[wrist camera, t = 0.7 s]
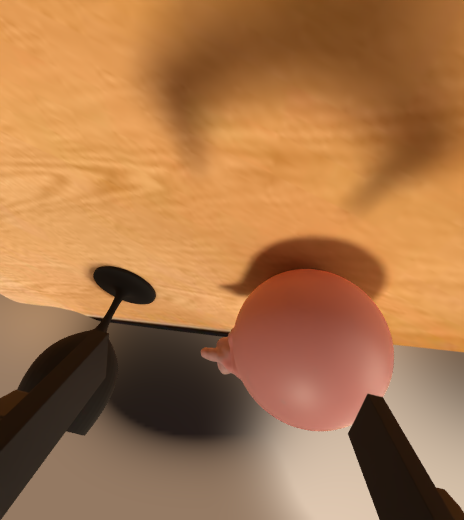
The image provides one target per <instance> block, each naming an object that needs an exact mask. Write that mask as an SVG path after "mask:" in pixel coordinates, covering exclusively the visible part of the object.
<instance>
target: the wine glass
mask: <svg viewBox="0 0 464 520" xmlns="http://www.w3.org/2000/svg"><path fill="white" fill-rule="evenodd" d="M93 275H94V280H95V281H96V283H97V284H98V285H99V286H100V287H101V288H102V289H103V290H105V291H106V292H107V293H109V294H111V295H113V296H114V297H115V298H114V300H113V303H112V305H111V306H110V308H109V310H108V312H107V313H106V315H105V317H104V318H103V320H102V321H101V323H100V324H99V325H98V326H97V327H96V328H95V329H93V330H96V331H101V332H105V333H106V332H107V328H108V325H109V323H110V321H111V319H112V316H113V315H114V313H115V311H116V309H117V307H118V306H119V304H120V303H121V301H122V300H124V301H127V302H130V303H135V304H149V303H151V302H153V301H154V299H155V297H156V294H155V291H154V289H153V288H152V287H151V286H150V284H149V283H147V282H146V281H145V280H144V279H142V278H141V277H139V276H137V275H135V274H133V273H131V272H129V271H126V270H123V269H120V268H116V267H107V266H106V267H100V268H98V269H96V270H95V272H94V274H93ZM93 330H90V331H85V332H82V333H77V334H74V335H71V336H68V337H66V338H64V339H61V340H59V341H58V342H56V343H54V344H53V345H51V346H50V347H48V348H47V349H46V350H45V351H44V352H43V353H42V354H40V355H39V357H38V358H37V359H36V360H35V361H34V362H33V364H32V365H31V366H30V368H29V369H28V371H27V372H26V374H25V376H24V377H23V379H22V381H21V383H20V385H19V387H18V389H17V390H19V391H24V392H28V393H29V392H30V391H31V390H32V389H33V388H34V387H35V386H36V385H37V384H38V383H39V382H41V381H42V380H43V379H44V378H45V377H46V376H47V375H48V374H49V373H50V372H51V371H52V370H53V369H54V368H55V367H56V366H57V365H58V364H59V363H60V362H61V361H62V360H63V359H64V358H65V357H66V356H68V355H69V354H70V353H71V352H72V351H73V350H74V349H75V348H76V347H77V346H78V345H79V344H80V343H81V342H82V341H83V340H84V339H85V338H86V337H87V336H88V335H89V334H90V333H91V332H92V331H93ZM117 374H118V363H117V358H116V354H115V351H114V349H113V346H112V344H111V342H110V341H109V340H108V353H107V366H106V377H105V379H104V380H103V381H102V383H101V384H100V385H99V387H98V388H97V390H96V391H95V392H94V394H93V395H92V396H91V398H90V399H89V400H88V402H87V403H86V405H85V406H84V407H83V409H82V410H81V411H80V413H79V414H78V415H77V417H76V418H75V419H74V421H73V422H72V424H71V425H70V426H69V428H68V429H67V430H66V431H68V432H72V433H76V434H80V435H85V434H86V433H87V432H88V431H89V429H90V428H91V427H92V426H93V424H94V423H95V421H96V420H97V419H98V417H99V416H100V414H101V413H102V411H103V410H104V408H105V406H106V405H107V403H108V401H109V399H110V396H111V394H112V392H113V390H114V387H115V384H116V380H117Z"/></svg>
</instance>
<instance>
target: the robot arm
mask: <svg viewBox="0 0 464 520" xmlns="http://www.w3.org/2000/svg"><path fill="white" fill-rule="evenodd" d="M108 340H109V333H105V332H101V331H96V330H93V331H92V332H91V333H90V334H89V335H88V336H87V337H86V338H85V339H84V340H83V341H82V342H81V343H80V344H79V345H78V346H77V347H76V348H75V349H74V350H73V351H72V352H71V353H70V354H69V355H68V356H66V357H65V358H64V359H63V360H62V361H61V362H60V363H59V364H58V365H57V366H56V367H55V368H54V369H53V370H52V371H51V372H50V373H49V374H48V375H47V376H46V377H45V378H44V379H43V380H42V381H41V382H39V383H38V384H37V385H36V386H35V387H34V388H33V389H32V390H31V391H30V392H29V393H28V392H24V391H19V390H15V391H13V392H11V393H9V394H8V395H6V396H4V397H2V398H0V520H1V519H2V517H3V516H4V515H5V513H6V512H7V510H8V509H9V508H10V506H11V505H12V504H13V502H14V501H15V500H16V498H17V497H18V496H19V494H20V493H21V491H22V490H23V489H24V487H25V486H26V485H27V483H28V482H29V481H30V479H31V478H32V477H33V475H34V474H35V472H36V471H37V470H38V468H39V467H40V466H41V464H42V463H43V462H44V460H45V459H46V457H47V456H48V455H49V453H50V452H51V451H52V449H53V448H54V446H55V445H56V444H57V443H58V441H59V440H60V438H61V437H62V436H63V434H64V433H65V432H66V430H67V429H68V428H69V426H70V425H71V424H72V422H73V421H74V419H75V418H76V417H77V415H78V414H79V413H80V411H81V410H82V409H83V407H84V406H85V405H86V403H87V402H88V400H89V399H90V398H91V396H92V395H93V394H94V392H95V391H96V390H97V388H98V387H99V385H100V384H101V383H102V381H103V380H104V379H105V377H106V366H107V353H108ZM348 435H349V438H350V440H351V443H352V446H353V449H354V451H355V454H356V457H357V460H358V462H359V465H360V467H361V470H362V473H363V476H364V479H365V481H366V484H367V487H368V489H369V492H370V495H371V498H372V500H373V503H374V506H375V508H376V511H377V514H378V516H379V519H380V520H464V513H463V511H462V510H461V508H460V506H459V505H458V504H457V503H456V502H455V501H454V500H453V498H452V497H451V496H450V495H449V494H448V493H447V492H446V491H445V490H444V489H440V488H436V487H435V485H434V484H433V482H432V481H431V479H430V477H429V475H428V474H427V472H426V470H425V468H424V467H423V465H422V464H421V461H420V460H419V458H418V457H417V455H416V453H415V451H414V450H413V448H412V446H411V445H410V443H409V441H408V440H407V438H406V436H405V434H404V433H403V431H402V429H401V427H400V426H399V424H398V423H397V421H396V419H395V417H394V416H393V414H392V412H391V410H390V409H389V407H388V405H387V404H386V402H385V400H384V398H383V397H380V396H376V395H372V394H367V396H366V398H365V400H364V402H363V404H362V406H361V408H360V410H359V412H358V414H357V416H356V418H355V420H354V422H353V424H352V427H351V429H350V431H349V433H348Z"/></svg>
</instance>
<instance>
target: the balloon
mask: <svg viewBox="0 0 464 520" xmlns="http://www.w3.org/2000/svg"><path fill="white" fill-rule="evenodd" d="M201 355H202V356H203V357H204V358H206V359H208V360H210V361H215V362H218V368H219V370H220V371H221V372H222V373H223V374H229V373H233V374H235V375H236V376H237V377H238V378H240V379H241V380H242V382H243V384H244V385H245V387H246V389H247V390H248V392H249V393H250V395H251V396H252V397H253V398H254V399H255V401H256V402H257V403H258V404H259V405H260V406H261V407H262V408H263V409H264V410H265V411H267V412H268V413H269V414H271V415H272V416H273V417H275V418H276V419H278V420H280V421H282V422H284V423H286V424H288V425H291V426H294V427H297V428H301V429H305V430H310V431H331V430H336V429H341V428H344V427H347V426H350V425H352V424H353V422H354V420H355V418H356V416H357V414H358V412H359V410H360V408H361V406H362V404H363V402H364V400H365V398H366V396H367V394H372V395H376V396H380V397H383V396H384V394H385V392H386V390H387V388H388V386H389V383H390V380H391V377H392V372H393V365H394V349H393V342H392V338H391V334H390V331H389V328H388V325H387V323H386V321H385V319H384V317H383V315H382V313H381V311H380V310H379V308H378V307H377V306H376V304H375V303H374V302H373V300H372V299H371V298H370V297H369V296H368V295H367V294H366V293H365V292H364V291H363V290H361V289H360V288H359V287H358V286H356V285H355V284H353V283H352V282H350V281H349V280H347V279H345V278H343V277H341V276H339V275H336V274H333V273H330V272H327V271H322V270H316V269H296V270H290V271H286V272H283V273H280V274H277V275H275V276H273V277H271V278H269V279H268V280H266V281H264V282H263V283H262V284H260V285H259V286H258V287H257V288H256V289H255V290H254V291H253V292H252V293H251V294H250V295H249V296H248V298H247V299H246V301H245V302H244V304H243V306H242V307H241V309H240V312H239V314H238V317H237V320H236V323H235V327H234V328H233V329H232V330H231V332H230V333H229V335H228V337H223V338H221V339H220V340H218V342H217V347H216V348H206V347H205V348H203V349H202V350H201Z"/></svg>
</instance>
